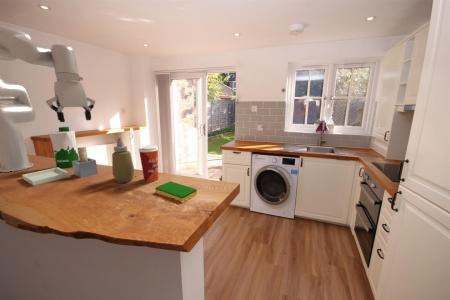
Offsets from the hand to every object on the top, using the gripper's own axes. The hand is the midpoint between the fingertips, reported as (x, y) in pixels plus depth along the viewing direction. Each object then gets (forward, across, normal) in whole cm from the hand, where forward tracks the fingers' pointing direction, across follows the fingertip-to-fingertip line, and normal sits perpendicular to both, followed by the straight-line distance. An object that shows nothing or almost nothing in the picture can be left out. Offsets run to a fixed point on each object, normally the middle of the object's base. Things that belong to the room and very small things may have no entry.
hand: (76, 121), depth 86 cm
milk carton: (+24, 0, -20) cm, 31 cm away
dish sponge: (+26, -8, +50) cm, 56 cm away
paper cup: (+25, -12, +31) cm, 41 cm away
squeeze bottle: (+25, -5, +22) cm, 34 cm away
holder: (+24, +1, +2) cm, 24 cm away
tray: (+24, +12, -7) cm, 27 cm away
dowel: (+23, +1, +2) cm, 23 cm away
